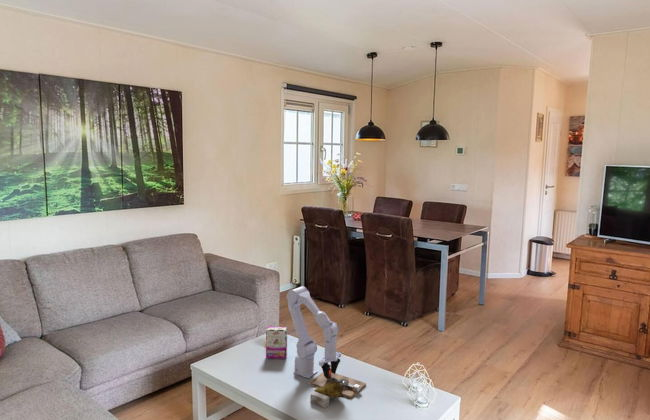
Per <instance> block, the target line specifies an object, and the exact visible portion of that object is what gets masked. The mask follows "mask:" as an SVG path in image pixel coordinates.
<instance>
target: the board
mask: <svg viewBox="0 0 650 420" xmlns="http://www.w3.org/2000/svg"><path fill="white" fill-rule="evenodd" d="M331 377H333V378H336V379H339V380H342V379H346V380H348V381H349V383H350V384H353V385H355V384H358V385H360V390H359V391H358V392H356V391H353V390H352V389H349V388H343V392H342V394H341V396H342V397H345V398H346V399H350V400H351V399H353V397H354V396H356V395H357V394H359V392H361V391H362V390H363V389H364V388H365V387H366V386H367V383H366V382H363V381H361V380H357V379H355V378H351V377H349V376H345V375H342V374H340V373H335V374H333V373H331ZM330 383H332V382H329V381H327V378H325V377H324V373H323V372H321V373H320V374H318V375H317V376H316V377H314V378H313V379H311V380H310V381H309V383H308V384H309V385H310V386H313V387H315V388H319V387H322V386H326V385H328V384H330ZM309 399H310V404H314V405H317V406H319V407H322V408H324V409H327V407H329V406H330V398H329V396H326V395H323V394H320V393H318V392H315V390H314V391H313V392H311V393H310V398H309Z"/></svg>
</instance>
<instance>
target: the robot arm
mask: <svg viewBox="0 0 650 420" xmlns="http://www.w3.org/2000/svg"><path fill="white" fill-rule="evenodd" d="M285 297H286V299H287V307H288V311H289V314H290V317H291V320H292V322H293V326H294V328H295V333H296V336H297V339H298V341H297V342H296V344H295V346H296V356H295V357H294V368H293V369H294V370H293V374H295V375H298V376H301V377H304V378H306V379H310V378H311V377H312V376H314V375H315V374H317V373H318V371H317V370H316V369H314V368H315V367H314V366H315V355H316V354H315V353H316V352H317V351H318V345H317V344H316V342H315V340H314V338H313V337H311V336H309V332H308V329H307V326H306V323H305V319H304V316H303V313H302V310H301V305H305V307H306V308H307V309H308V310H309V311H310V312H311V313H312V314H313V316H314V320H315V322H316V323H317V324H318V325H319V327H320V328H321V329H322V334H323V336H324V356H323V357H322V358H321V359H320V360H319V361H318V366H320V367H321V370H322V373H324V377H326V378H328V376H329V370H330V368H331V373H333V374H335V373H336V372H337V369H338V366H339V364H340V363H341V357H342V353H341V352H340V351H337V345H338V343H337V342H338V341H337V340H338V335H339V333H340V327H339V325H338V324H337V323H336V322H334V321H332V320H331V319H330V318H329V316H328V315H327V313H326V312H325V311H322V310H320V309H319V307H318V305H316V303H315V301H314V300H313V299H312V296H311V295H310V291H309V290H308V289H307V287H305V286H304V285H302V286H299V287H296V288H293V289H289V290H288V292H287V294H286V296H285ZM329 363H330V364H329ZM336 374H337V373H336Z"/></svg>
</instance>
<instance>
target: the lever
mask: <svg viewBox="0 0 650 420" xmlns="http://www.w3.org/2000/svg"><path fill="white" fill-rule="evenodd" d="M325 378H326V377H325ZM327 381H329V382H332V383H334V382H337V383H340V384H341V385H342V386H343V388H349V389H352V390H353V391H356V392H358V391H359V390H360V385H358V384H355V385H353V384H350V383H349V381H348V380H346V379H342V380H339V379H336V378H333V377H331V367H330V370H329V376H328V378H327ZM360 391H361V390H360ZM360 391H359V392H360ZM359 392H358V393H359Z"/></svg>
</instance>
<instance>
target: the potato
mask: <svg viewBox="0 0 650 420" xmlns="http://www.w3.org/2000/svg"><path fill="white" fill-rule="evenodd" d="M314 391H315V392H318V393H320V394H323V395H326V396H329V399H333V398H341V394H342V392H343V386H342V385H341V384H340V383H337V382H334V383H330V384H328V385H326V386H322V387H319V388H318V387H316V388H315V389H314Z"/></svg>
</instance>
